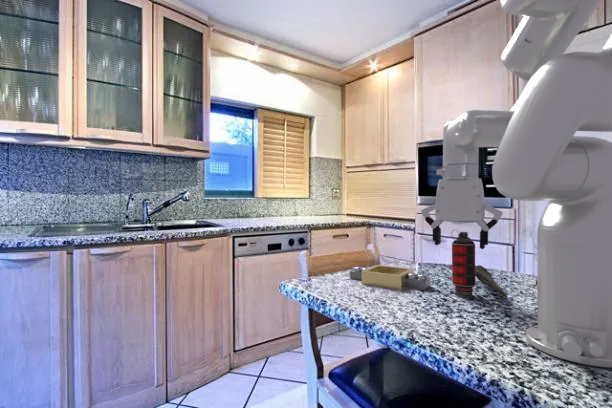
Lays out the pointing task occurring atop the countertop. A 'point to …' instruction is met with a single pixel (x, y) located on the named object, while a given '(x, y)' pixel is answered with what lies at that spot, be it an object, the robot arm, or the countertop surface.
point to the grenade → (463, 265)
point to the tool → (487, 279)
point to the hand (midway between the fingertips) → (459, 246)
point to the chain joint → (391, 277)
